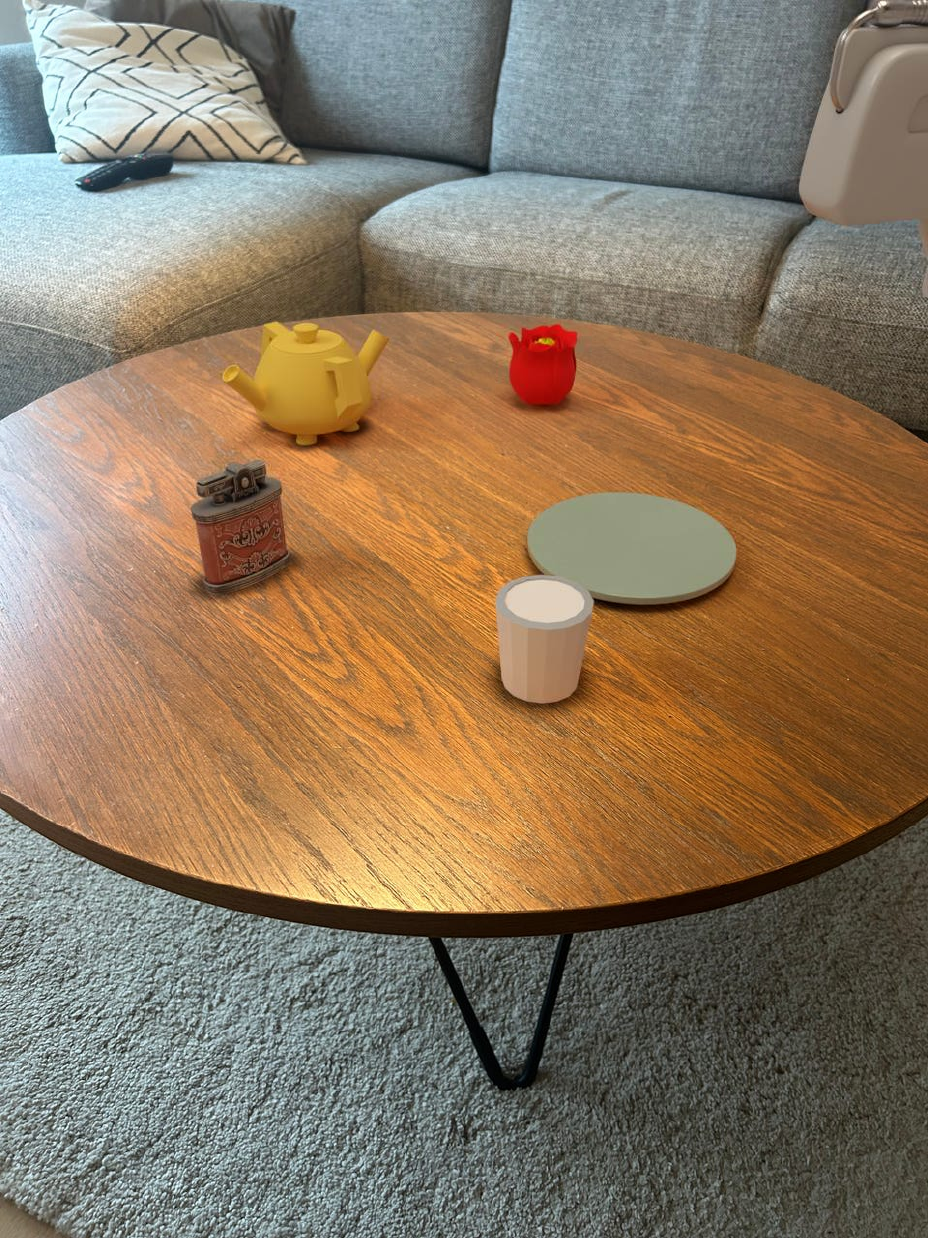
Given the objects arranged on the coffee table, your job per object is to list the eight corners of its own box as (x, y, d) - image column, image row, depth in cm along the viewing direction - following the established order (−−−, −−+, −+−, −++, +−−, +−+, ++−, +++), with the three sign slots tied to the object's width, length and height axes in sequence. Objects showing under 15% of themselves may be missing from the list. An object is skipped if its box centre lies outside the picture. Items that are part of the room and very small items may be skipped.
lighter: (275, 549, 89) (262, 445, 83) (298, 563, 87) (286, 458, 81) (196, 584, 84) (176, 476, 78) (218, 600, 82) (200, 490, 76)
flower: (569, 418, 112) (574, 348, 108) (501, 412, 113) (502, 342, 109) (577, 391, 118) (581, 324, 114) (512, 386, 120) (514, 319, 115)
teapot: (276, 480, 99) (263, 372, 93) (194, 423, 111) (177, 323, 105) (436, 428, 110) (434, 327, 103) (346, 380, 121) (339, 287, 115)
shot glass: (598, 663, 75) (606, 585, 71) (570, 719, 70) (576, 637, 66) (512, 642, 77) (515, 565, 73) (479, 694, 72) (480, 614, 68)
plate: (776, 589, 84) (779, 574, 83) (579, 631, 79) (580, 615, 78) (669, 493, 97) (671, 479, 97) (496, 523, 93) (496, 509, 92)
